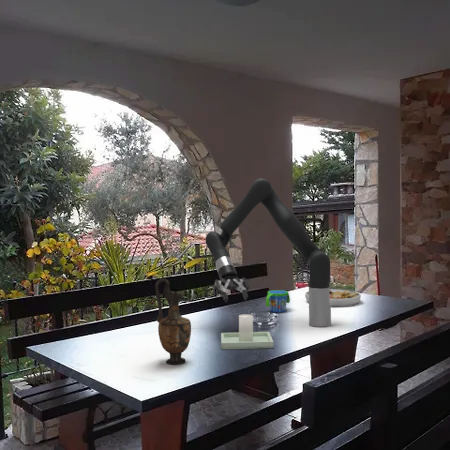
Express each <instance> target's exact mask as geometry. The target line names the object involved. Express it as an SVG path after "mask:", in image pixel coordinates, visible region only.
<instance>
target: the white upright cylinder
mask: <svg viewBox="0 0 450 450" xmlns="http://www.w3.org/2000/svg"><path fill="white" fill-rule="evenodd" d="M238 332H239V341H240V342H249V341H253V332H254V315H253V314H248V313H247V314H245V313H244V314H243V313H242V314H239V315H238Z"/></svg>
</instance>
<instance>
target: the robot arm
mask: <svg viewBox="0 0 450 450" xmlns="http://www.w3.org/2000/svg"><path fill="white" fill-rule="evenodd" d="M273 188H274V187H272V184H271V182H270V181H269V180H268V179H266V178H261V177H259V178H257V179H255V180H254V181H253V182H252V183H251V186H250V188H249V190H248V192H247V193H246V194H245V196H244V197H243V198H242V200H241V201H240V202H239V203H238V204H237V205H236V207H234V209H232V210H231V211H230V212H229V214H228V215H227V216H226V217H225V218H224V219H223V221H222V222H221V223H220V229H221V230H222V231H221V233H218V232H217V231H214V230H212V231H209V232H208V233H206V236H205V244H206V247H207V249H208V250H209V252H210V253H211V255H212V257H213V260H214V263H215V267H216V271H217V274H218V278H219V280H218V279H215V280H214V281H215V282H214V289H215V292H216V294H217V295H221V296H222V300H223V301H224V302H225V303H228V302H229V297H228V293H227V292H226V291H227V290H228V291H230V290H236V291H238V292H241V294H242V297H243V300H244V301H247V300H248V298H249V295H248V292H249V289H250V285H249V284H248V281H247V278H246V277H242V278H239V277H238V274H237V270H236V268H235V265H234V262H233V261H232V259H231V255H230V253H229V251H228V249H227V248H226V247H227V246H228V245H229V242H230V240H231V239H232V236H233V234H234V233H235V232H236V231H237V229H238V228H239V227H240V226H241V225H242V224H243V222H244V221H245V219H246V218H247V217H248V216H249V214H251V212H252V211H253V210H254V209H255V208H256V207H257V206H258V205H259V204H260V203H261V204H262V205H263V206H264V207H265V209H266V210H267V211H268V213H269V215H270V216H271V218H272V219H273V221H274V222H275V224H276V225H277V227H278V229H279V230H280V232H282V234H283V235H284V236H285V237H286V238H287V239H288V240H289V242H290V243H291V244H292V245H294V246H295V248H296V249H297V250H298V251H299V252H300V253H301V255H302V257H303V259H304V260H305V262H306V264H307V265H308V267H309V280H308V291H309V302H308V324H309V326H311V327H315V328H316V327H318V328H323V327H324V328H325V327H331V326H332V307H331V305H330V298H329V289H330V282H331V260H330V257H329V256H328V255H327V254H326V253H324V252H323V251H322V250H321V249H320V248H319V247H318V246H317V245H316V244H315V243H314V242H313V241H312V239H311V238H310V235H309V234H308V232H307V230H306V228H305V227H304V225H303V223H302V222H301V221H300V220H299V218H298V217H297V216H296V214H294V212H293V211H292V210H291V209H290V208H289V207H288V206H287V205H286V204H285V203H284V202H283V201H282V200H281V199H280V198H279V196H278V195H277V193H276V191H275V190H274V189H273ZM221 286H223V288H221Z"/></svg>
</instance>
